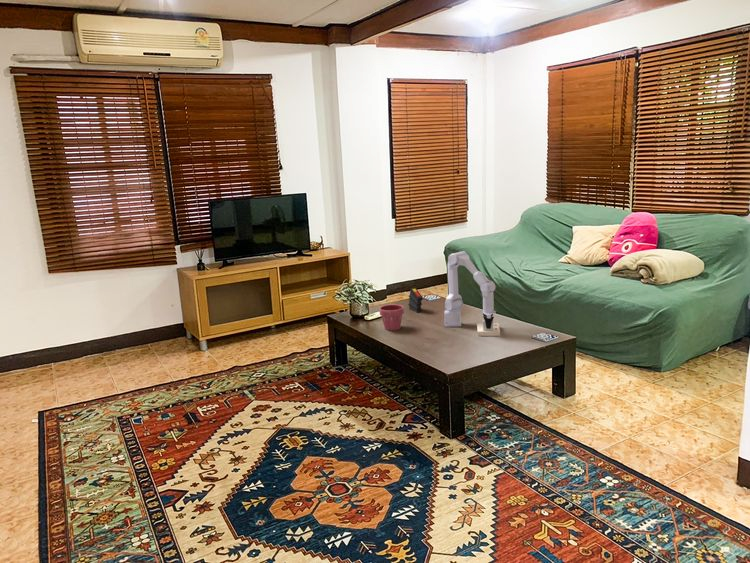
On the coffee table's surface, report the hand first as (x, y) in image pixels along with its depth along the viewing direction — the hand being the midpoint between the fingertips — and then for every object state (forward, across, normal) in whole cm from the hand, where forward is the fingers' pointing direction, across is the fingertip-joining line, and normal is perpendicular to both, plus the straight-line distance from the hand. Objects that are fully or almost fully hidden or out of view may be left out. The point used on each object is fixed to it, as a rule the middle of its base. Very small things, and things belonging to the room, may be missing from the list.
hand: (488, 327), depth 314 cm
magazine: (+4, +46, +44) cm, 64 cm away
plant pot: (+4, +10, +55) cm, 56 cm away
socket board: (+4, +4, 0) cm, 5 cm away
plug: (+3, 0, 0) cm, 3 cm away
